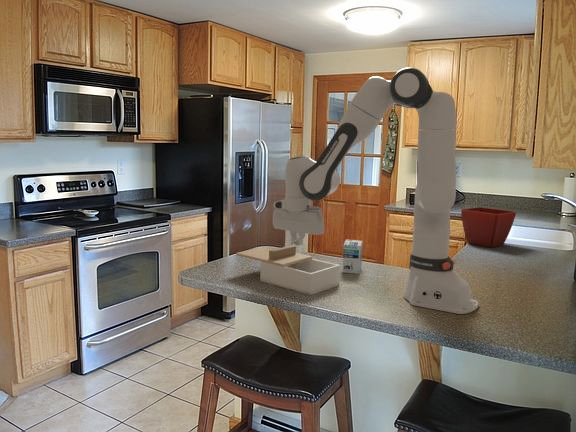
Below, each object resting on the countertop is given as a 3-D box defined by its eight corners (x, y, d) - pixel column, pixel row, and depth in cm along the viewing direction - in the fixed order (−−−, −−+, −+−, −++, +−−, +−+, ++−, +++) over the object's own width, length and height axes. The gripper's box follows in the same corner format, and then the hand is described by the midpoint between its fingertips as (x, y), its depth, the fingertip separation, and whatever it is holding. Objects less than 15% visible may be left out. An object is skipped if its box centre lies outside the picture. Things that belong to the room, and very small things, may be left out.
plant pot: (477, 238, 260) (480, 206, 257) (513, 245, 246) (517, 211, 243) (457, 242, 248) (460, 209, 245) (494, 250, 234) (497, 214, 231)
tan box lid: (312, 258, 177) (312, 248, 177) (282, 266, 165) (282, 255, 165) (266, 248, 191) (267, 238, 191) (236, 255, 179) (236, 244, 179)
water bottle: (303, 258, 206) (306, 198, 202) (297, 262, 200) (299, 200, 196) (288, 256, 209) (290, 197, 205) (281, 260, 203) (283, 198, 199)
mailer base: (339, 285, 171) (340, 265, 170) (310, 295, 159) (311, 274, 158) (290, 272, 185) (290, 253, 184) (260, 281, 173) (260, 261, 172)
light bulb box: (359, 274, 185) (361, 245, 184) (341, 272, 187) (343, 244, 185) (361, 267, 196) (363, 240, 194) (344, 265, 197) (345, 239, 195)
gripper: (328, 206, 165) (327, 247, 167) (281, 201, 178) (281, 239, 180) (316, 208, 160) (316, 250, 162) (269, 202, 173) (269, 241, 175)
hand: (297, 244), depth 171 cm, fingers closed
